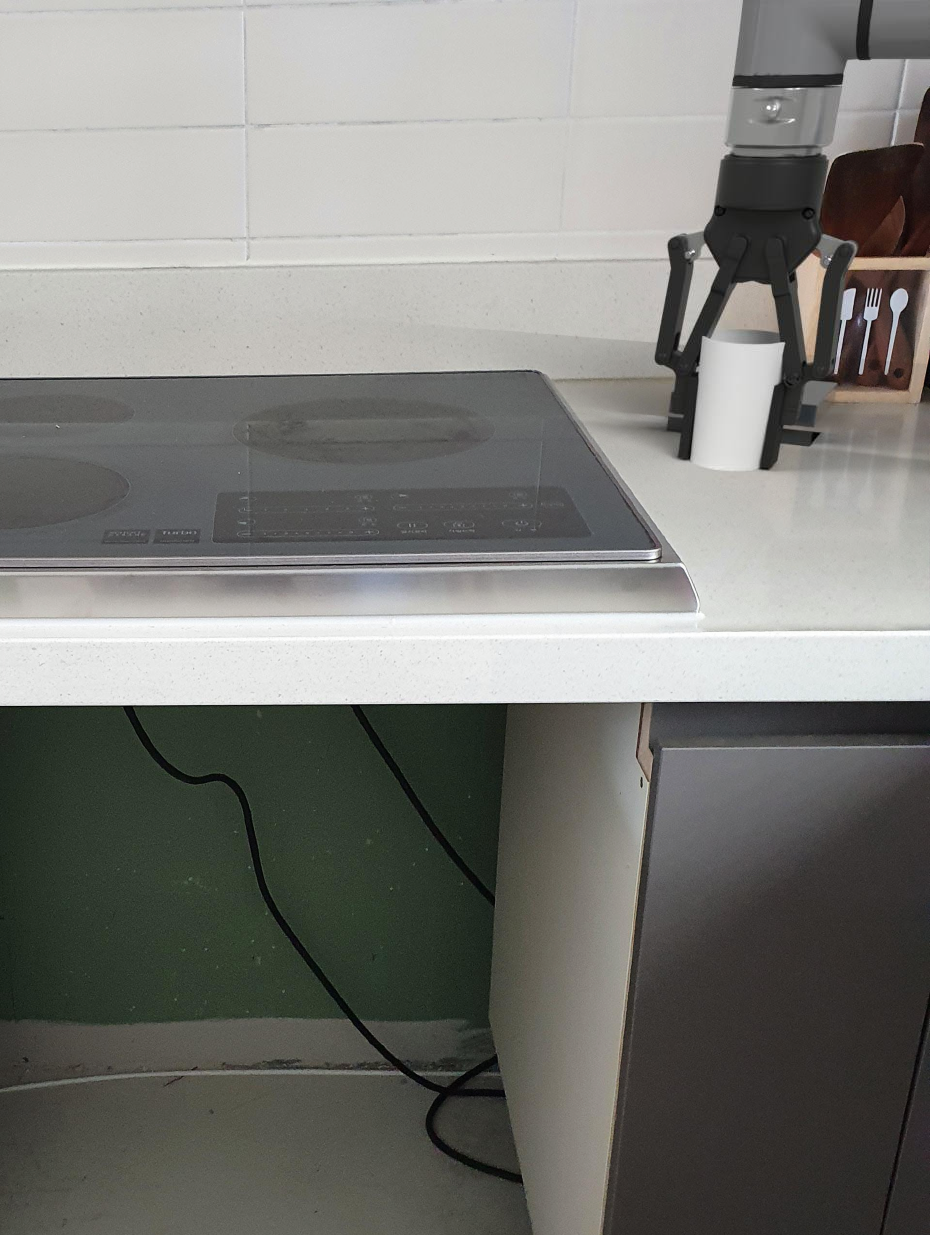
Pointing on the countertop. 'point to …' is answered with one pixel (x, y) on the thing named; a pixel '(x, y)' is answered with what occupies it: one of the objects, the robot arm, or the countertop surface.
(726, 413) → the white cup
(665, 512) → the countertop surface
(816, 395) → the push button base
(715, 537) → the countertop surface
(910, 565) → the countertop surface
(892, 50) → the robot arm
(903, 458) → the countertop surface
